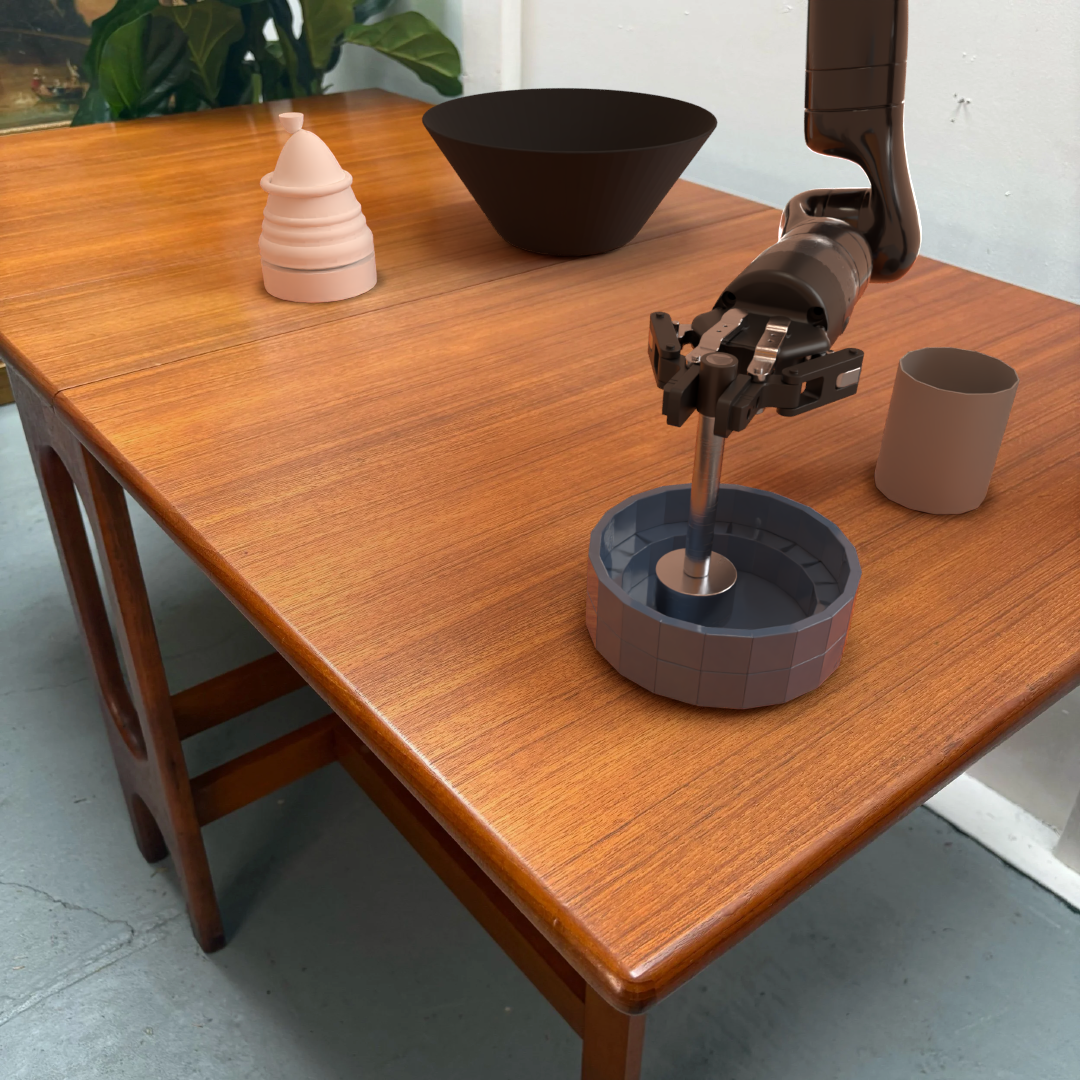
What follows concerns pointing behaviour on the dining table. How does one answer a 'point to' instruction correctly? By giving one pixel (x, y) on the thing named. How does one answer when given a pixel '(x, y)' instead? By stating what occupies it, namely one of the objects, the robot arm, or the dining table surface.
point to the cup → (944, 429)
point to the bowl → (568, 161)
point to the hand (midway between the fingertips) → (698, 415)
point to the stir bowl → (759, 604)
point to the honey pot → (313, 224)
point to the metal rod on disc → (701, 519)
